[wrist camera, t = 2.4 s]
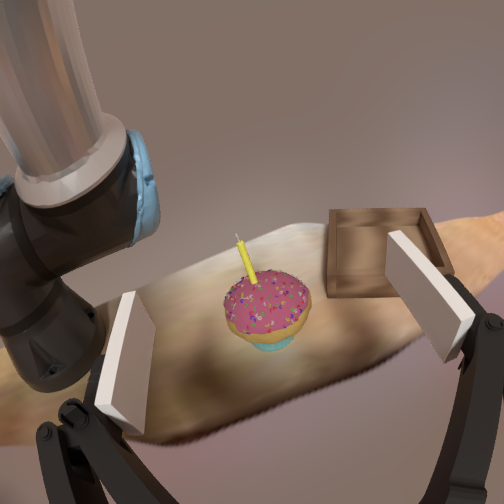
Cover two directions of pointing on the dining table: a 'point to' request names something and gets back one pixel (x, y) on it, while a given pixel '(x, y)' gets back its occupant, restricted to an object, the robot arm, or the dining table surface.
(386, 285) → the tray
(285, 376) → the dining table surface
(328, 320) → the dining table surface
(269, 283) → the cupcake
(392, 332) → the dining table surface
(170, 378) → the dining table surface
